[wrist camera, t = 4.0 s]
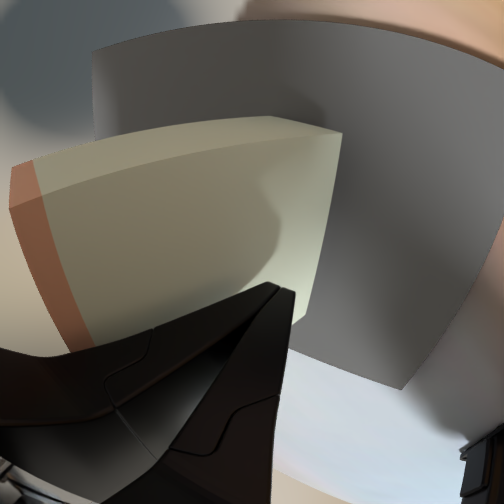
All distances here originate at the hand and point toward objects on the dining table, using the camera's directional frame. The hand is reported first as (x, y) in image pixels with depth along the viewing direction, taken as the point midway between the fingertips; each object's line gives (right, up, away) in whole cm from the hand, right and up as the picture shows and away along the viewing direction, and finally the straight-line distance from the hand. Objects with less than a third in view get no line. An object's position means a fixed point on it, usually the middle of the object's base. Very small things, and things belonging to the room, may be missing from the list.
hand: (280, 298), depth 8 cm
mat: (-1, +4, +6) cm, 7 cm away
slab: (+1, +2, +4) cm, 5 cm away
